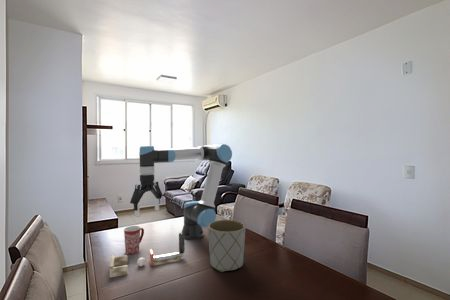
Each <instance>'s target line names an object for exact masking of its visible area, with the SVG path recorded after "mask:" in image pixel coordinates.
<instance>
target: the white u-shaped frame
mask: <svg viewBox="0 0 450 300" xmlns="http://www.w3.org/2000/svg"><path fill="white" fill-rule="evenodd" d="M185 240H186V239H185V233H181V232H179V233H178V251H175V252H171V253H165V254H159V255H156V256H155V255H154V251H153V249H152V248H151V249H149V265H150V267H153V259H156V258H157V261H161V260H167V259H172V258H177V255H179V254H181V258H182V257H185V243H186V242H185Z"/></svg>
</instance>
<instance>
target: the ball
mask: <svg viewBox="0 0 450 300" xmlns="http://www.w3.org/2000/svg"><path fill="white" fill-rule="evenodd" d="M136 261H137V262H136V263H137V266H140V267H143V266H145V265H146V258H145V257H139V258H138V259H137V260H136Z"/></svg>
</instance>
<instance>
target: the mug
mask: <svg viewBox="0 0 450 300" xmlns="http://www.w3.org/2000/svg"><path fill="white" fill-rule="evenodd" d="M123 233H124V234H123V235H124V249H125V250H124V251H125V255H135V254H137V253H138V252H140V244H141V242H142V240H143V237H144V235H145V229H144V228H143V227H141V226H140V225H129V226H126V227H125V228H124V229H123Z"/></svg>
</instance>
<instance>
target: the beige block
mask: <svg viewBox="0 0 450 300" xmlns="http://www.w3.org/2000/svg"><path fill="white" fill-rule="evenodd" d="M109 263H110V264H109V278H115V277H116V278H117V277H120V276H126V275H128V254H125V255H119V256H115V255H114V254H113V255H111V256H110V261H109Z"/></svg>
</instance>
